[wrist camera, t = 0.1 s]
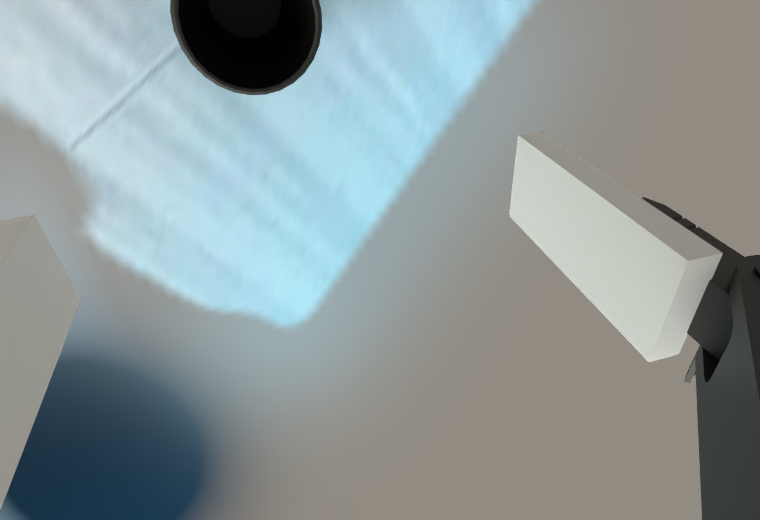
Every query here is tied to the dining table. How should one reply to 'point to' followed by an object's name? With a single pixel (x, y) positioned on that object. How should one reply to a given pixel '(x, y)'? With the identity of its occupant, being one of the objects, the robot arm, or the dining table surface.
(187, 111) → the dining table surface
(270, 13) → the mug
